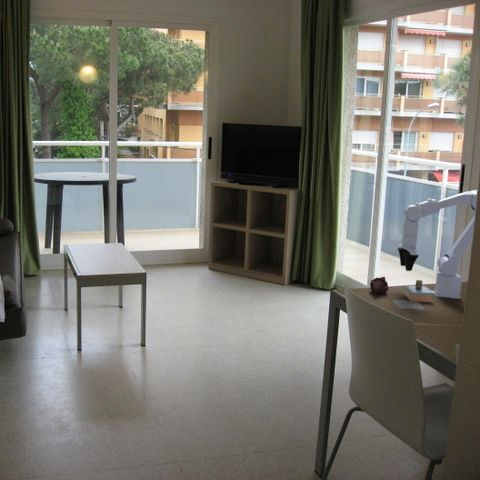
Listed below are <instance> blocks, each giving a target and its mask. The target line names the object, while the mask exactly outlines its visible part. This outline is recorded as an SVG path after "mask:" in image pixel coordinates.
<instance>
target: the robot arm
mask: <svg viewBox="0 0 480 480" xmlns="http://www.w3.org/2000/svg"><path fill="white" fill-rule="evenodd" d="M477 191H478V189H473V190H472V189H471V190H469V191H464V192H461V193H457V194H455V195H451V196H449V197H446V198H443V199H441V200H437V199H435V198H433V199H432V198H431V197H430V198H428V199H427V200H426V201H421V202H420V203H419V202H415V204H409V205H407V206H406V207H405V209H404V211H403V214H404V216H405V217H404V222H403V226H402V227H403V229H402V237H401V238H402V239H401V242H400V244H398V246H397V247H398V248H397V250H398V254H399V262H400V267H405V268H404V269H405V271H406V272H412V270H413V268H414V265H415V262H416V261H417V259H418V258H419V254H417V242H418V234H419V225H420V224H419V222H420V220H421V218H425V217H429V216H432V215H435V214H439V212H440V211H441V210H442V209H446V208H450V207H454V206H457V205H461V204H462V205H465V206H469V207H470V208H471V210H472V214H473V217H472V218H471V220H470V221H469V223H468V224H467V225H466V226H465V228H464V230H462V232H461V234H460V235H459V237H458V238H457V239H456V241H455V242H454V243H453V246H452V247H451V248H450V249H448V250H447V251H446V252H445V253H444V254H443V255H442V256H439V258H438V259H437V267H438V268H439V269H438V270H437V271H436V278H435V286H434V290H431V291H432V292H433V293H434V295H435V296H436V297H437V298H438V297H440V298H450V299H459V300H460V298H461V290H462V281H463V280H462V276H461V275H460V274H456V273H458V270H459V266H460V264H461V262H462V257H463V256H464V254H465V253H466V251H467V250H468V249H469V248H470V245H471V244H472V243H473V242H472V239H473V229H474V220H475V210H476V200H477Z"/></svg>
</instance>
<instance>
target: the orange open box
mask: <svg viewBox="0 0 480 480" xmlns="http://www.w3.org/2000/svg"><path fill="white" fill-rule="evenodd" d="M404 296H405V297H406V298H407V300H408V301H418V302H419V303H420V302H421V303H424V302H425V303H432V302H431V301H432V296H433V295H415V294H410V293H409V292H408V291H407V290H405V289H404Z"/></svg>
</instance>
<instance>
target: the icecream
mask: <svg viewBox="0 0 480 480" xmlns="http://www.w3.org/2000/svg"><path fill="white" fill-rule="evenodd" d="M369 287H370V290H371V292H373V293H376V294H380V295H381V294H383V295H384V294H386V293H387V292H388V290H389V284H388V281H387V280H386V277H385V276H381V277H375V278H374V279H372V280H371V281H370V283H369Z"/></svg>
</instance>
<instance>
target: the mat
mask: <svg viewBox="0 0 480 480" xmlns="http://www.w3.org/2000/svg"><path fill="white" fill-rule="evenodd" d="M392 302H393V303H394V305H395V306H396V307H397V308H398V309H403V310H421V311H422V310H425V311H426V308H425V307H424V306H423V305H422V304H421V303H420V302H419V301H410V300H402V299H401V300H399V299H392Z"/></svg>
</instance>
